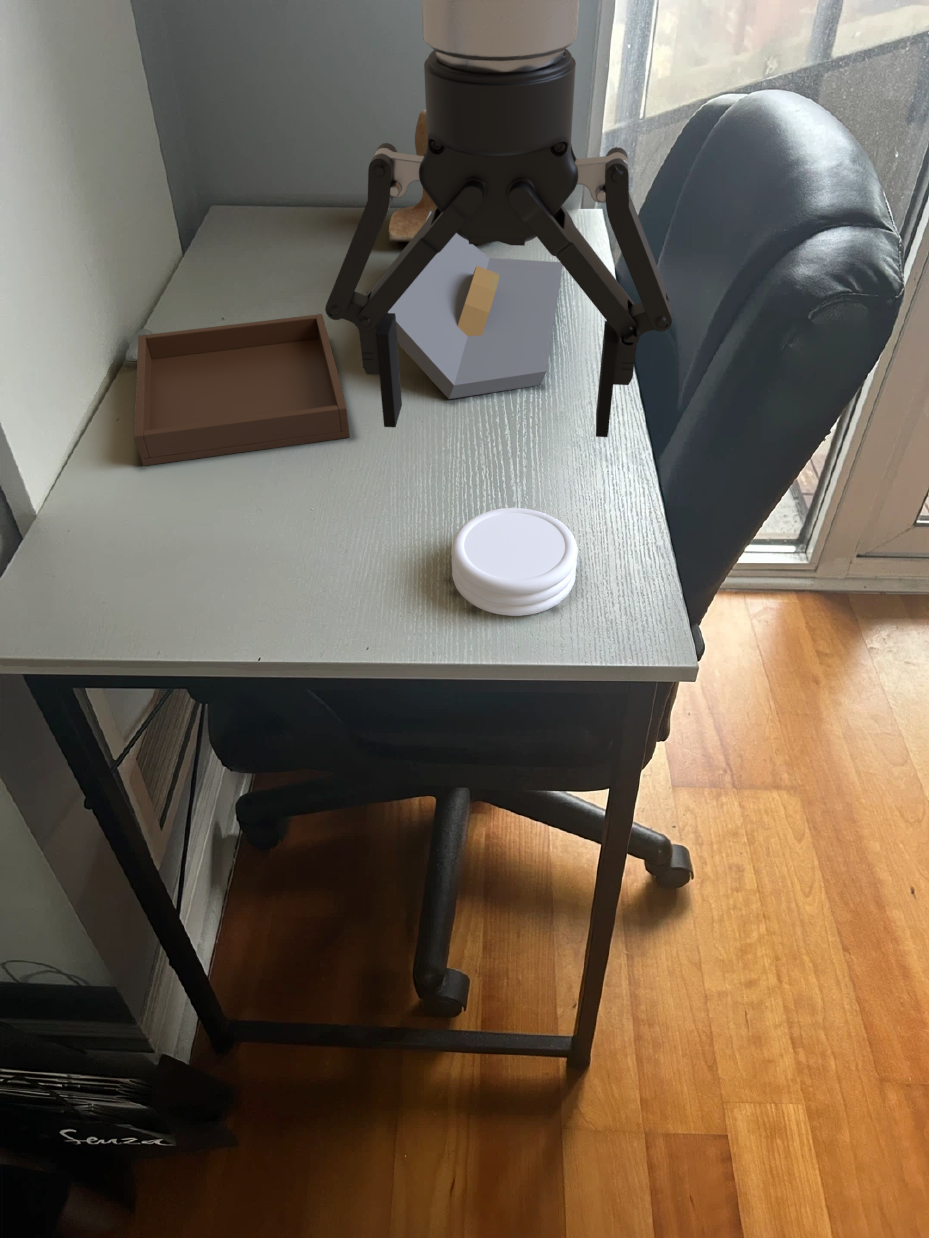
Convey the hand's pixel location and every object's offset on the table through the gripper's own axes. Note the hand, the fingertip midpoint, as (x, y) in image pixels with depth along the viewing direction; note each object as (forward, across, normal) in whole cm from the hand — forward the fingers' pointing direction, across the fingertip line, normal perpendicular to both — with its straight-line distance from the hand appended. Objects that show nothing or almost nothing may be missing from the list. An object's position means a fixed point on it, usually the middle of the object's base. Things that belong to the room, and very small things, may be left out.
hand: (496, 421), depth 61 cm
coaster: (+18, -1, -5) cm, 18 cm away
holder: (+18, +28, -29) cm, 45 cm away
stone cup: (+18, +12, -72) cm, 75 cm away
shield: (+18, +6, -46) cm, 49 cm away
